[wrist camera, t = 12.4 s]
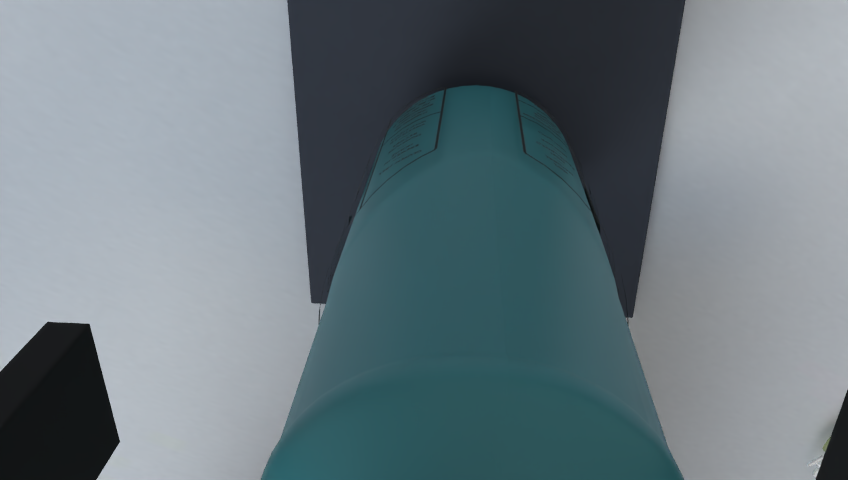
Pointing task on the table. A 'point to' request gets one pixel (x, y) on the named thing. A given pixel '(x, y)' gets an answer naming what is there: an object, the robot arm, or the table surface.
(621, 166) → the felt pad
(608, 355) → the beverage bottle
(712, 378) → the table surface
